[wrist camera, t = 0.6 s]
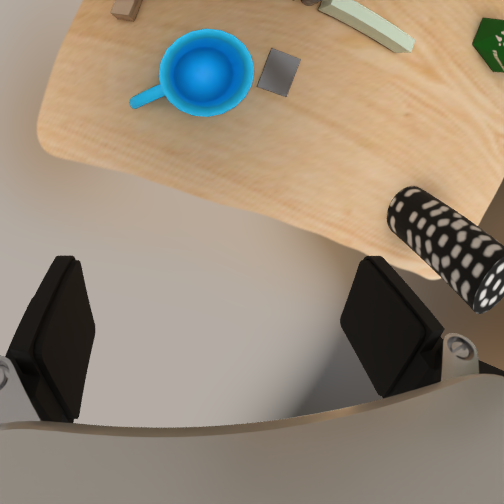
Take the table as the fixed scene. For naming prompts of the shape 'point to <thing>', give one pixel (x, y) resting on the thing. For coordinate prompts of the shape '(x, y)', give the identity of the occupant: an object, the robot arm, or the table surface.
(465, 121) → the table surface
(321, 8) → the leg
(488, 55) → the milk carton
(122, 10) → the dock
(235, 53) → the mug
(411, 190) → the white-spotted black cylinder
